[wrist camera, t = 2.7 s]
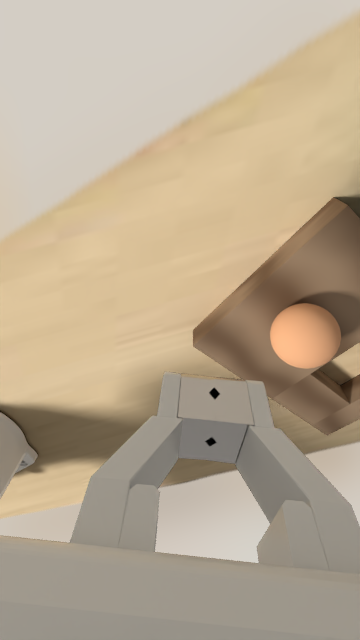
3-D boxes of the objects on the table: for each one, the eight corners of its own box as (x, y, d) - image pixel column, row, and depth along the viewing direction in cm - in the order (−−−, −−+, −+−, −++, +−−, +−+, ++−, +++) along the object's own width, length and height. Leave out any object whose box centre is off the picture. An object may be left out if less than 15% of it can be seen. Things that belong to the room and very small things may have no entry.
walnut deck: (319, 417, 35) (327, 435, 33) (193, 330, 29) (192, 346, 27) (461, 338, 28) (482, 355, 26) (333, 197, 21) (348, 205, 19)
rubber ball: (290, 349, 26) (307, 392, 22) (252, 320, 25) (263, 359, 21) (339, 315, 24) (368, 355, 20) (299, 280, 23) (322, 315, 18)
